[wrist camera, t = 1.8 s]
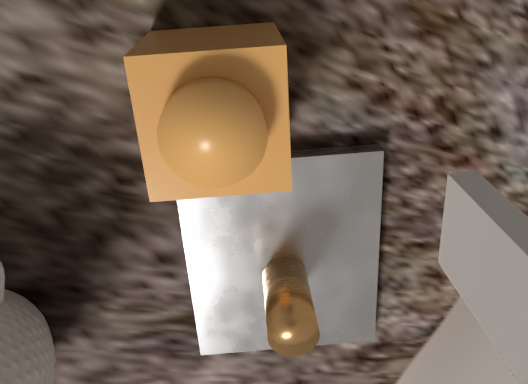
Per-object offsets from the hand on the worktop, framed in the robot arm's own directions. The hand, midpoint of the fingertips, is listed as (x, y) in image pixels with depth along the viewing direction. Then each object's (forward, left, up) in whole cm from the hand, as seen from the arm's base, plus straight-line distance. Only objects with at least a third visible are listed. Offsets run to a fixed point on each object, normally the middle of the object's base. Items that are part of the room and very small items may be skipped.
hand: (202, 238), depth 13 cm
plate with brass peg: (+11, +3, -16) cm, 19 cm away
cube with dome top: (0, 0, -16) cm, 16 cm away
